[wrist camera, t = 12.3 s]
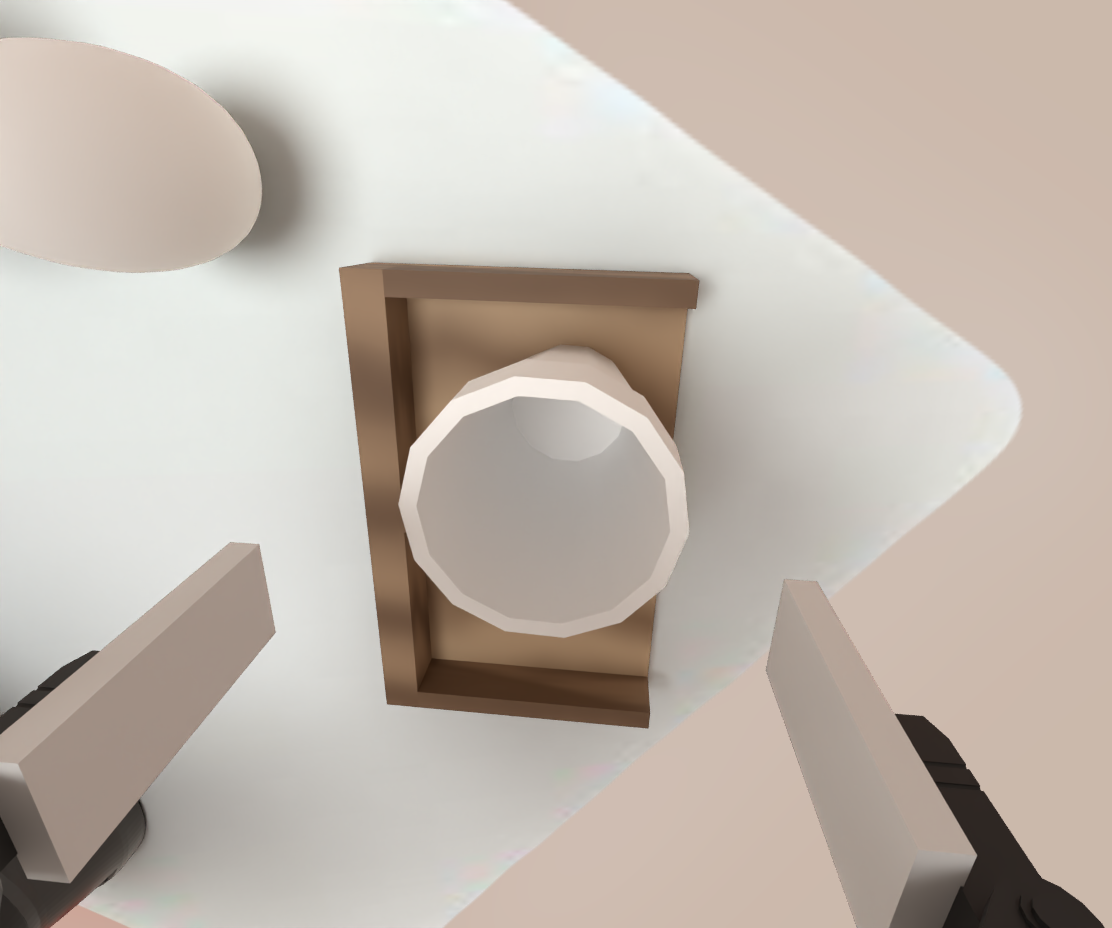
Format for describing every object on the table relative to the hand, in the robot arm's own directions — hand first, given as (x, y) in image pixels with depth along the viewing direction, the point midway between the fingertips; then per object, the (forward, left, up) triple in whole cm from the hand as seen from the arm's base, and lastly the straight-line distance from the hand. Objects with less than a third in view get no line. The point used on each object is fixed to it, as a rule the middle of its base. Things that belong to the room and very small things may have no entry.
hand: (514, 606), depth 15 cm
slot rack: (-6, +2, -18) cm, 20 cm away
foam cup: (0, 0, -18) cm, 18 cm away
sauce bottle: (+11, +17, -19) cm, 27 cm away
